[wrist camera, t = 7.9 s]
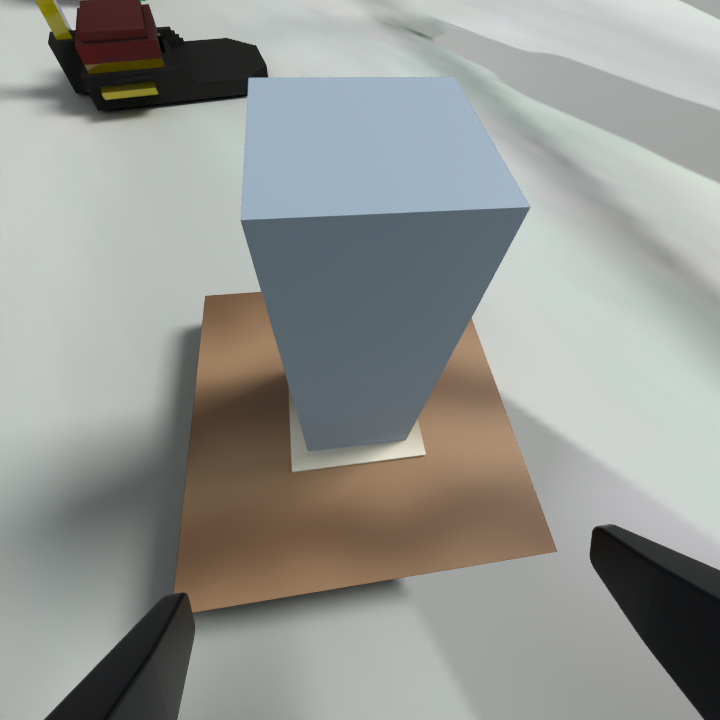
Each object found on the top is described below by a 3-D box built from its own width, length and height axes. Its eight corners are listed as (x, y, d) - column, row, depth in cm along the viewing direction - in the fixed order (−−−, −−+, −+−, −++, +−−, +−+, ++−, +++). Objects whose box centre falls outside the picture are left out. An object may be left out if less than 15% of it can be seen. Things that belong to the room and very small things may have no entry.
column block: (406, 440, 17) (530, 207, 6) (307, 451, 17) (241, 219, 5) (389, 356, 20) (455, 77, 8) (302, 364, 19) (248, 77, 8)
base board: (530, 553, 17) (559, 551, 15) (194, 609, 16) (169, 616, 13) (446, 302, 25) (457, 275, 23) (217, 320, 23) (204, 293, 21)
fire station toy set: (82, 66, 41) (4, -83, 32) (251, 51, 46) (228, -84, 36) (79, 129, 35) (-20, -36, 25) (278, 105, 39) (258, -44, 29)
